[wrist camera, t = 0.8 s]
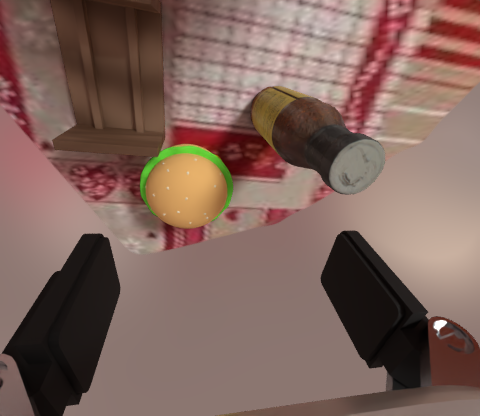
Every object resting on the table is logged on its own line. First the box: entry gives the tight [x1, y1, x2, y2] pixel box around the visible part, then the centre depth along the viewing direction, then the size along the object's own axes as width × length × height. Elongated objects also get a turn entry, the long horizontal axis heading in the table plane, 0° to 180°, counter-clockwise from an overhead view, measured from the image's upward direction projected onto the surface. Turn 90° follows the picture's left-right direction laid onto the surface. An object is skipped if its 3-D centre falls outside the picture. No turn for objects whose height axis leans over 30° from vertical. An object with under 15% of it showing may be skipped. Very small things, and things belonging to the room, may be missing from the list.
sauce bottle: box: [251, 86, 385, 194], centre depth 24 cm, size 7×6×20 cm
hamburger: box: [140, 144, 233, 228], centre depth 32 cm, size 12×12×9 cm
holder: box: [50, 0, 165, 157], centre depth 25 cm, size 14×10×7 cm
